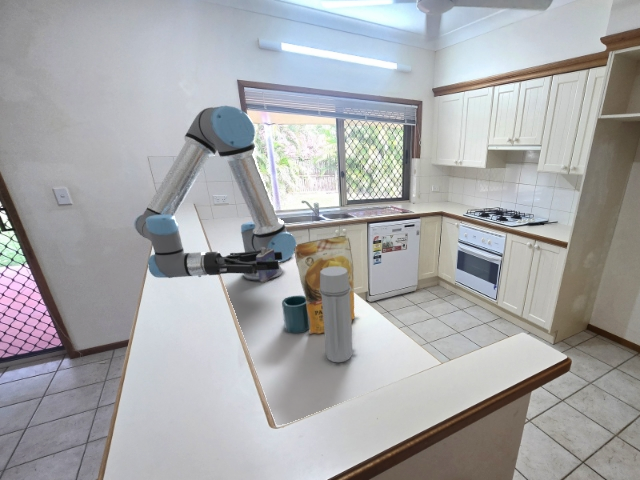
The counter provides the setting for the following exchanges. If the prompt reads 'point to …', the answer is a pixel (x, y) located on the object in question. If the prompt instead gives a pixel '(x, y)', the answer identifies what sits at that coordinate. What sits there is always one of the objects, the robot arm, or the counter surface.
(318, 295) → the pancake mix bag
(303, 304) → the coffee cup
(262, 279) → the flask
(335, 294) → the water bottle
